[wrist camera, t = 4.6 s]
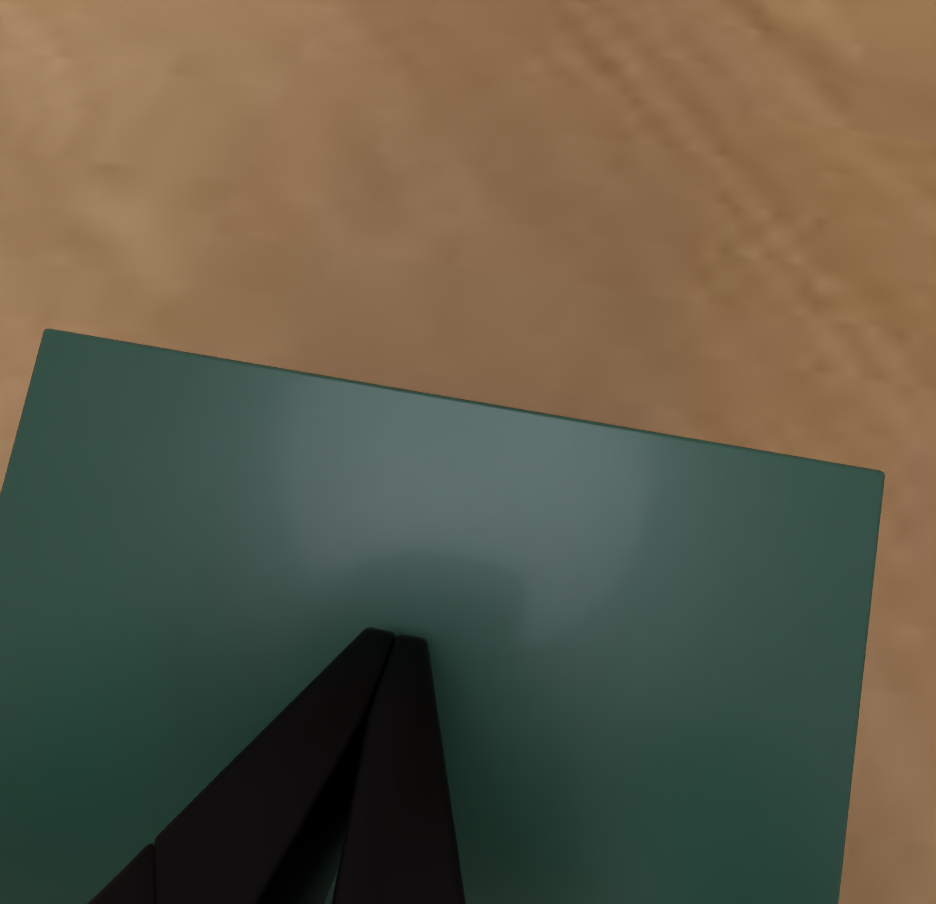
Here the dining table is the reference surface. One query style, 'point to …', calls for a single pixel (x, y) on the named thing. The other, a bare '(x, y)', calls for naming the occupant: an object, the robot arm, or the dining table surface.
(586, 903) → the lid
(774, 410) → the dining table surface
